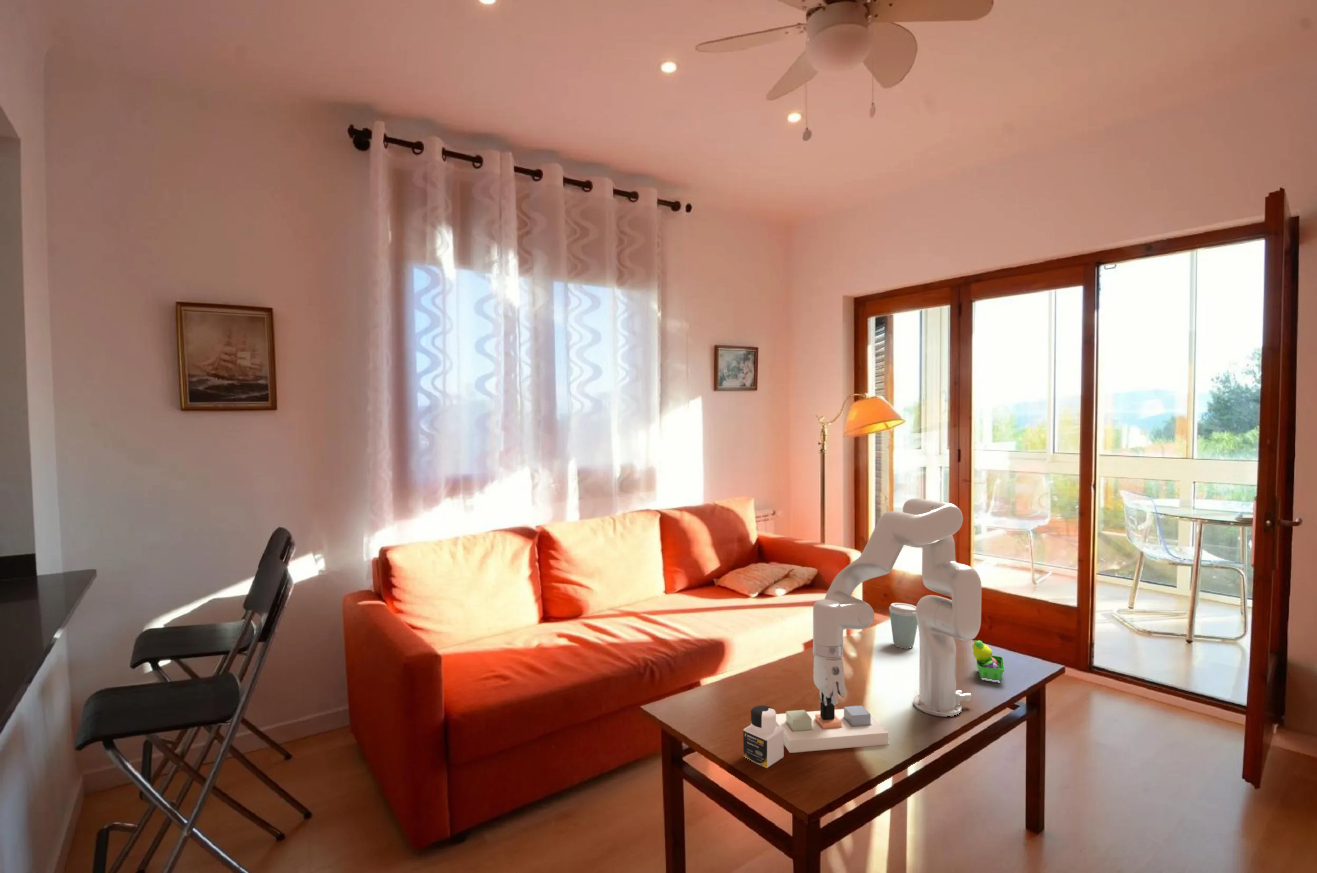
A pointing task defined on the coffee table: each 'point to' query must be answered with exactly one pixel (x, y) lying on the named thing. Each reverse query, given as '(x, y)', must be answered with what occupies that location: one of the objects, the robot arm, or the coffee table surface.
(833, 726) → the key terracotta
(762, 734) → the medicine bottle
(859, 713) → the key slate
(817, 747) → the key board
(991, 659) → the fruit basket
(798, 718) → the key sage
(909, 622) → the disposable coffee cup
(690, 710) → the coffee table surface
